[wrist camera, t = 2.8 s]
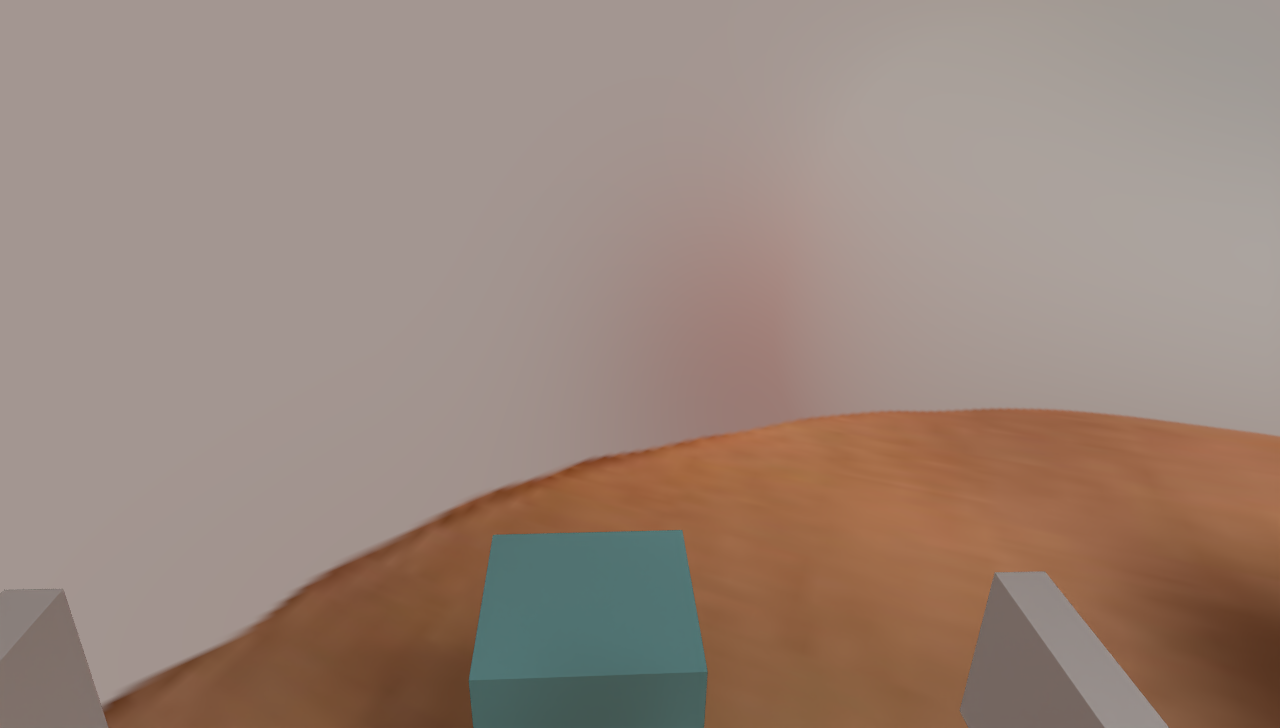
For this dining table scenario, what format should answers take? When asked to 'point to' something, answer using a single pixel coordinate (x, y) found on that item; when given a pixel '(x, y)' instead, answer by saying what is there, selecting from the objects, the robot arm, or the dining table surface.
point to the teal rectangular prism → (588, 633)
